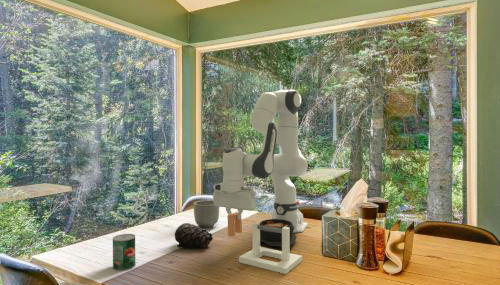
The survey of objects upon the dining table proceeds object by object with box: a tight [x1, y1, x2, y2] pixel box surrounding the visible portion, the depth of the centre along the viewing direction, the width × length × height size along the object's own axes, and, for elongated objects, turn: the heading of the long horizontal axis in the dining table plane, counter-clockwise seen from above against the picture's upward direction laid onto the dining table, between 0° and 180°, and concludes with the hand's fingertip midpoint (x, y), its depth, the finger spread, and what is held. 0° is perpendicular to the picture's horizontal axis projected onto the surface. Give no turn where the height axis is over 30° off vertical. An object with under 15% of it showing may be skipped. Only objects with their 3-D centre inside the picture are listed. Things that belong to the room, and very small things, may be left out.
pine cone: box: [174, 222, 214, 251], centre depth 138 cm, size 10×18×10 cm, turn 79°
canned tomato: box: [112, 233, 136, 272], centre depth 117 cm, size 8×8×11 cm
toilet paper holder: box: [238, 221, 303, 275], centre depth 120 cm, size 20×14×14 cm
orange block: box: [227, 211, 243, 237], centre depth 133 cm, size 6×2×8 cm, turn 147°
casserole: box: [260, 218, 297, 247], centre depth 145 cm, size 25×19×8 cm
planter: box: [192, 199, 220, 230], centre depth 168 cm, size 14×14×13 cm
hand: (234, 218), depth 133 cm, fingers closed on orange block, 2 cm apart
